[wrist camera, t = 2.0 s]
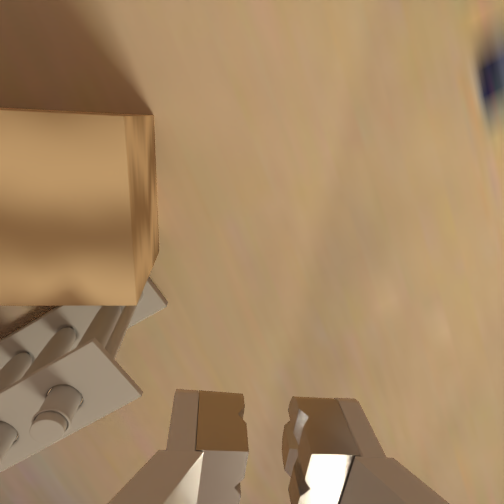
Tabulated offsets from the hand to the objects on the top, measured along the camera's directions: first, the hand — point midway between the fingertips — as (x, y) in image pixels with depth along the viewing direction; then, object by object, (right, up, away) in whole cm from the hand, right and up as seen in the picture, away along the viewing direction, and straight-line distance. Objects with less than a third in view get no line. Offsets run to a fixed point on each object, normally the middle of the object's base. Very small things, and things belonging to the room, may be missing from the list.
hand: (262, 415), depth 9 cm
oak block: (-14, +9, +18) cm, 25 cm away
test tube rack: (-19, -5, +23) cm, 30 cm away
